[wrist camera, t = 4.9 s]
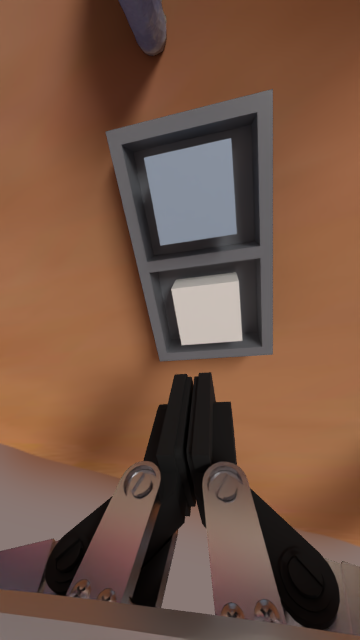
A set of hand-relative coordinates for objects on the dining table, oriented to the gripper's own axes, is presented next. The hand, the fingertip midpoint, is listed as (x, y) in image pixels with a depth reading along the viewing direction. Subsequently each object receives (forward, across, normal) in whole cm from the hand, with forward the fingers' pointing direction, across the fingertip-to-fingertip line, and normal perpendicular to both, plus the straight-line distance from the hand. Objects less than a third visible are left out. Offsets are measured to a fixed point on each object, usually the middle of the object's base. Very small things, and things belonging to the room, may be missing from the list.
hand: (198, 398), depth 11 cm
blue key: (+14, 0, -9) cm, 17 cm away
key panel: (+17, 0, -4) cm, 17 cm away
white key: (+15, 0, +1) cm, 15 cm away
